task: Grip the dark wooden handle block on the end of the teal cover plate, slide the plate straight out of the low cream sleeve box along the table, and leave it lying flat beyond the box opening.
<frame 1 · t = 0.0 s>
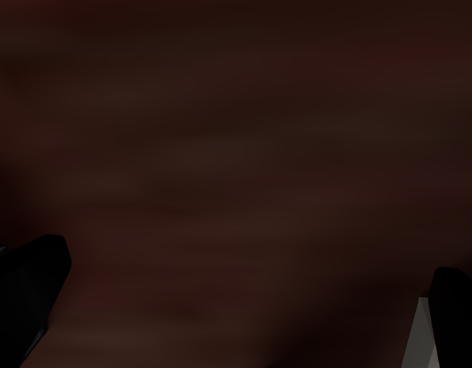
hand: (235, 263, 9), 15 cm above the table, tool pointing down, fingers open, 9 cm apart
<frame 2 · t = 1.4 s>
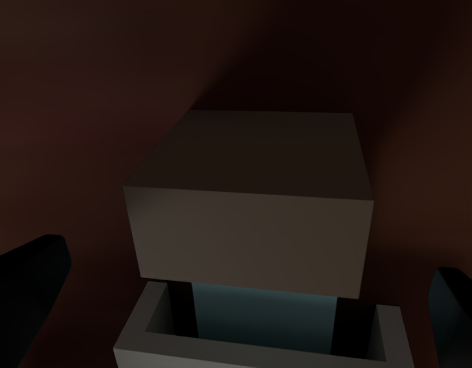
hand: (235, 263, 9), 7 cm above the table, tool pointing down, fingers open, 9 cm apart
cover plate: (267, 275, 18), on the table
sleeve box: (266, 361, 21), on the table
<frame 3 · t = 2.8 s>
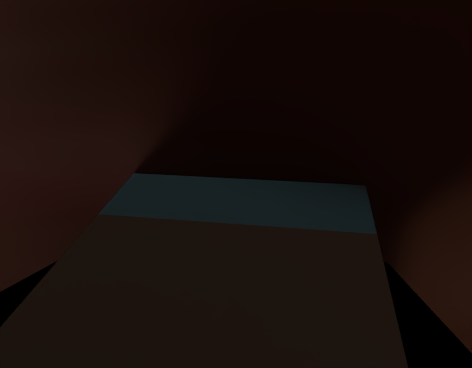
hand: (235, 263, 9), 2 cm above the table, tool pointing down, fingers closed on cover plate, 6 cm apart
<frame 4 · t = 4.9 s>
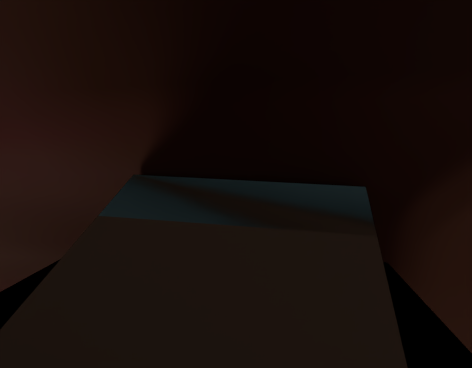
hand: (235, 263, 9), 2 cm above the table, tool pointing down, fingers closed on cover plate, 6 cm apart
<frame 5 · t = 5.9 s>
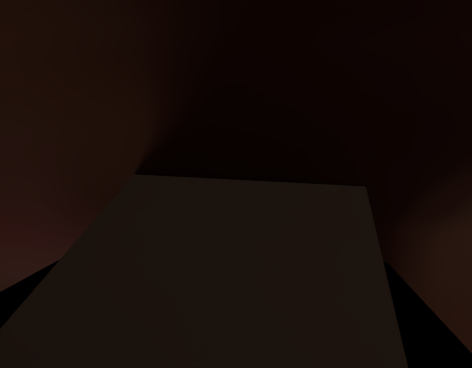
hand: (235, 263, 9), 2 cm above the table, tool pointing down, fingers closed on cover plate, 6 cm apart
when the fingers open (2 cm above the table, at t = 7.0 s): cover plate stays where it is, on the table.
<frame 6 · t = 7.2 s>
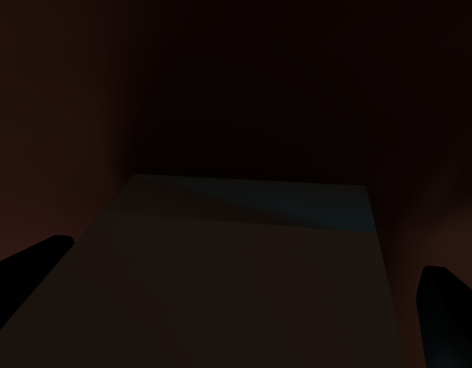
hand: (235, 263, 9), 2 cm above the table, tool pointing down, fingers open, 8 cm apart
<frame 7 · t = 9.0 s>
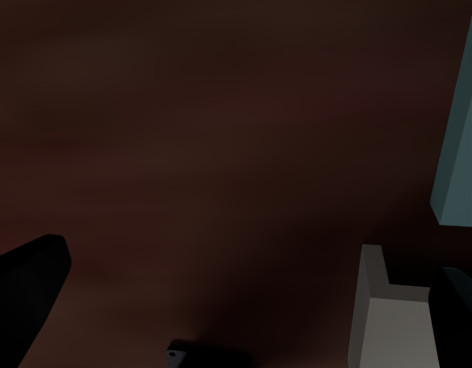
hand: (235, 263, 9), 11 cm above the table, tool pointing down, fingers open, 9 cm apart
sleeve box: (457, 315, 23), on the table
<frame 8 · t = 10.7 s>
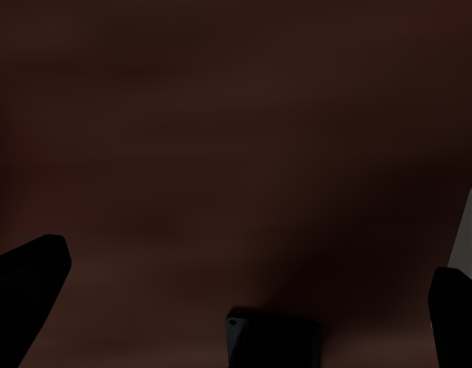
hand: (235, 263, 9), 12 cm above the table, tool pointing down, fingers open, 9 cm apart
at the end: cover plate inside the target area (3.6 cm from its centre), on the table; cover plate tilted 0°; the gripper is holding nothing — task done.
